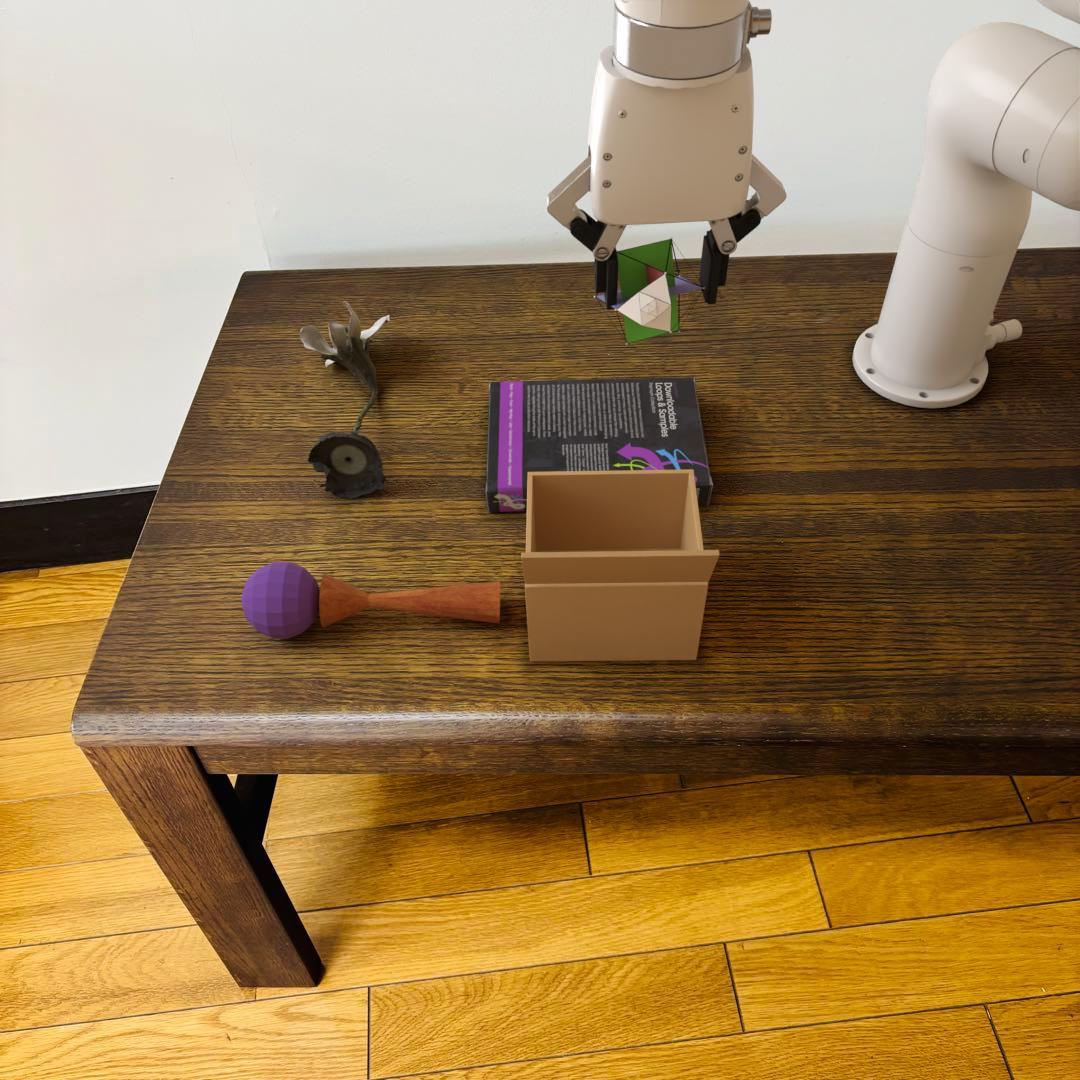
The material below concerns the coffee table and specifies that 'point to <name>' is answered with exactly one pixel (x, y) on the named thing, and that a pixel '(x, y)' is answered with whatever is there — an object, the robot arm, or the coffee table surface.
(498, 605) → the kendama
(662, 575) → the flap
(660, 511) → the carton
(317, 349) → the artificial flower
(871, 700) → the coffee table surface
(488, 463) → the box
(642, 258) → the geometric puzzle
